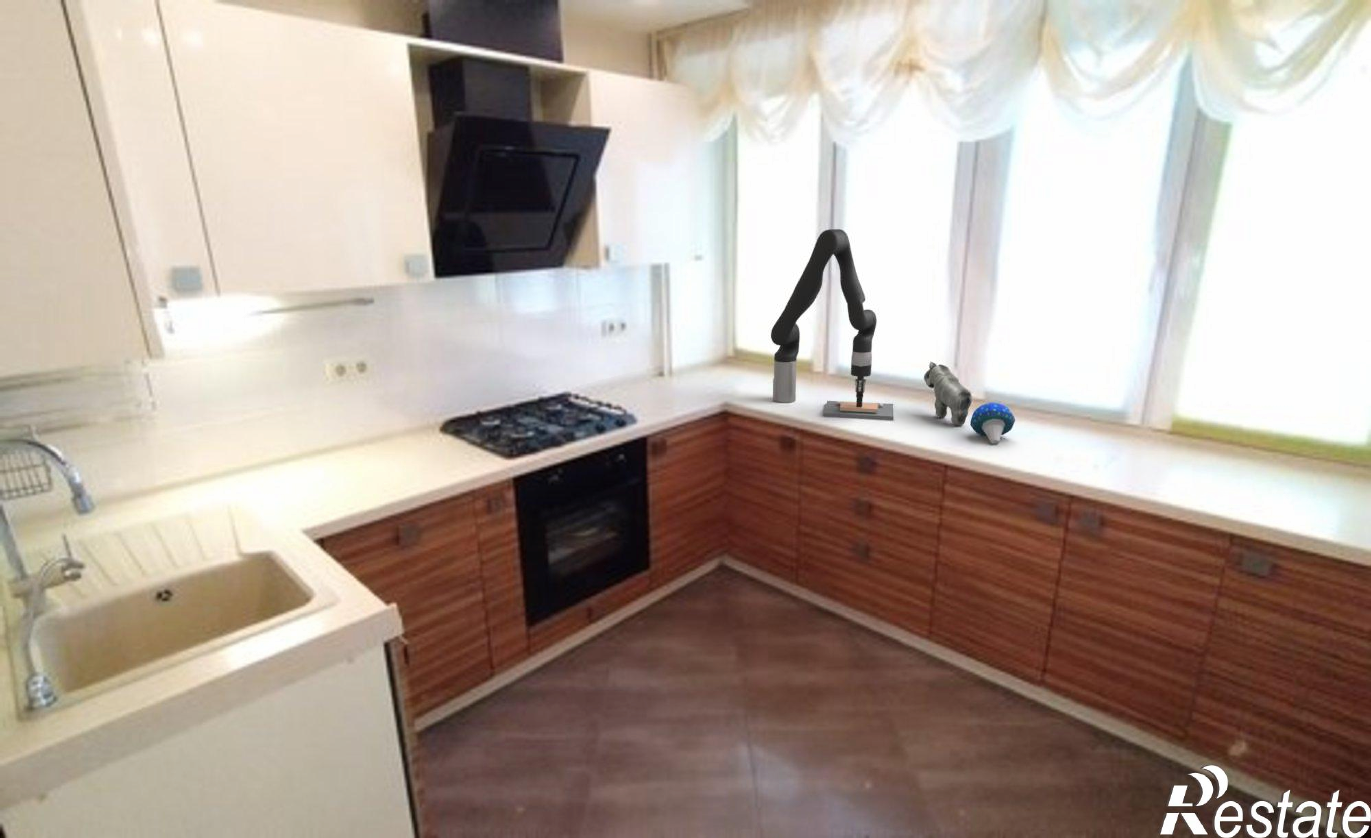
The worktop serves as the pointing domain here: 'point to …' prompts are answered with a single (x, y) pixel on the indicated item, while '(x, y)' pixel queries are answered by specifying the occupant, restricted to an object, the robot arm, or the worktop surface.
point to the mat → (882, 412)
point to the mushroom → (992, 421)
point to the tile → (865, 407)
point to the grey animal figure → (948, 393)
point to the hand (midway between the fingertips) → (859, 406)
